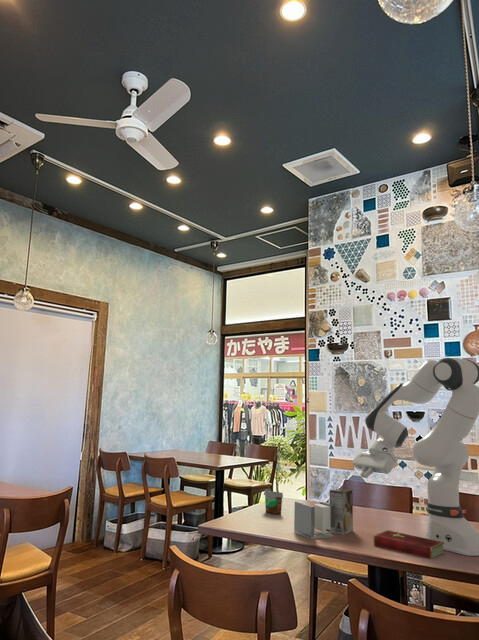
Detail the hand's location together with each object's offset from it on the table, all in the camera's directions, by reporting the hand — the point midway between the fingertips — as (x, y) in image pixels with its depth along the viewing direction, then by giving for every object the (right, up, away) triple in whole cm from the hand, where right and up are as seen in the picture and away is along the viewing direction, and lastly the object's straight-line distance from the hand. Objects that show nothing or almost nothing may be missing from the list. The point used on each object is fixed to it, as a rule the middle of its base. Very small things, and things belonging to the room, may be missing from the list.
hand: (363, 476), depth 194 cm
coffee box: (-12, -19, -10) cm, 25 cm away
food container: (-39, -25, +20) cm, 50 cm away
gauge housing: (-24, -17, -17) cm, 34 cm away
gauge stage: (-20, -16, -14) cm, 29 cm away
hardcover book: (+8, -16, -31) cm, 36 cm away
